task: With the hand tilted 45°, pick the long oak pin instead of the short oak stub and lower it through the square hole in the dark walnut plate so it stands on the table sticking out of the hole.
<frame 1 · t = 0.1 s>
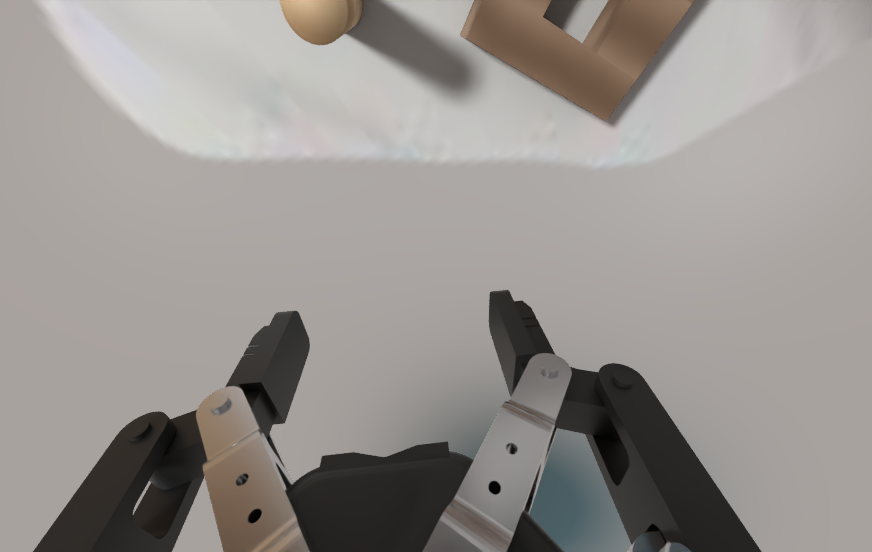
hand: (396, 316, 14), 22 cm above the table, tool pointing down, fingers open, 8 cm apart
long pin: (340, 2, 24), on the table
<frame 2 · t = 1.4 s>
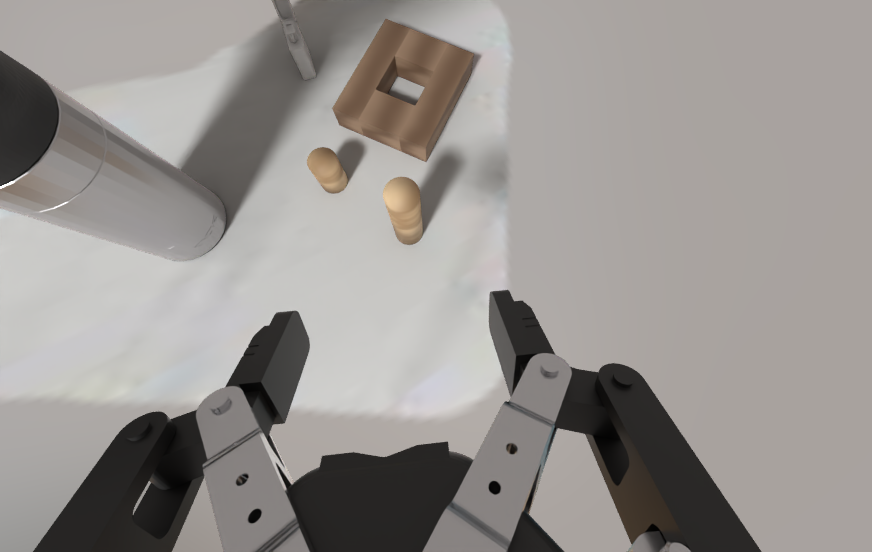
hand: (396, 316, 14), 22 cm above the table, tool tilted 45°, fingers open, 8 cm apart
lighter: (304, 58, 42), on the table
long pin: (409, 231, 38), on the table
short pin: (334, 181, 39), on the table
hole plate: (406, 98, 41), on the table
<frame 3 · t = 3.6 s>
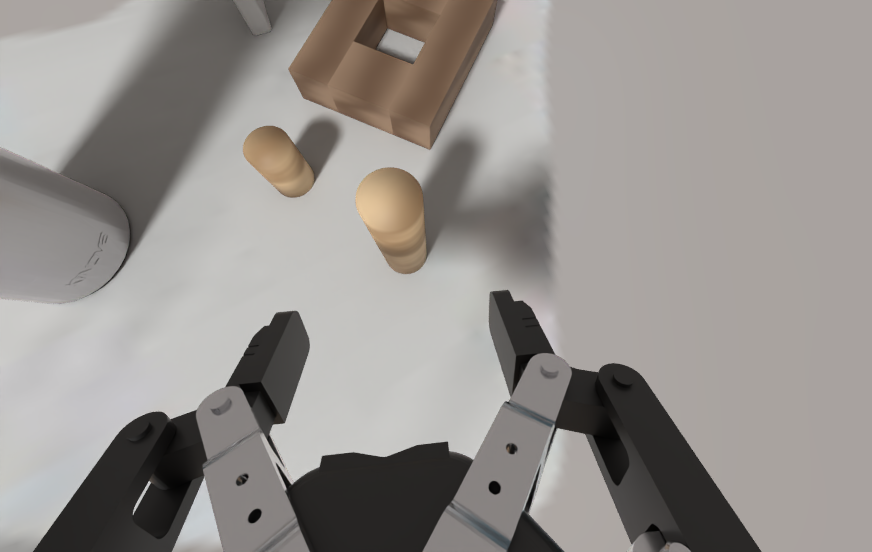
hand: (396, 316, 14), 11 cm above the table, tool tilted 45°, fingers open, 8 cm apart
lighter: (255, 5, 30), on the table
long pin: (406, 253, 25), on the table
short pin: (294, 179, 26), on the table
hole plate: (400, 60, 28), on the table
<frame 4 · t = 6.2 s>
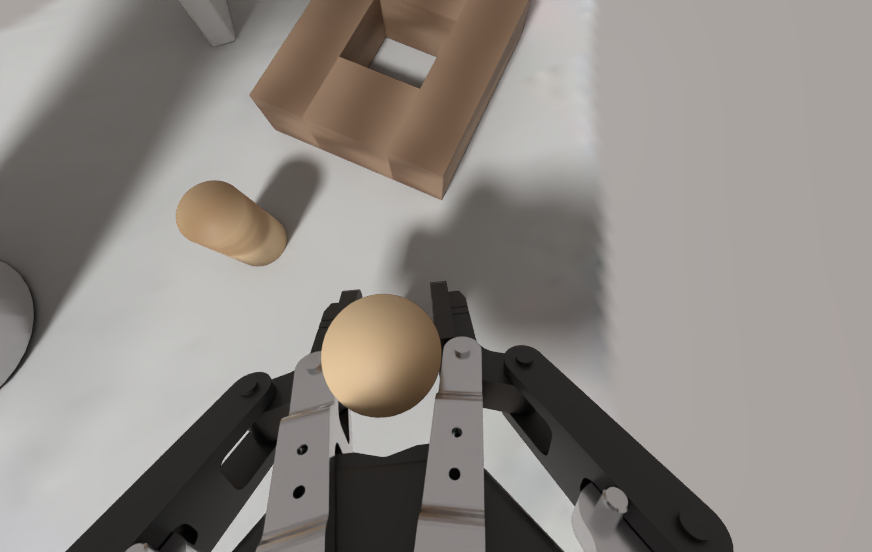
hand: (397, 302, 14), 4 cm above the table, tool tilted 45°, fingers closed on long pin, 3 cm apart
lighter: (216, 7, 23), on the table
long pin: (409, 346, 18), on the table, touching gripper
short pin: (260, 240, 20), on the table
hole plate: (403, 79, 22), on the table
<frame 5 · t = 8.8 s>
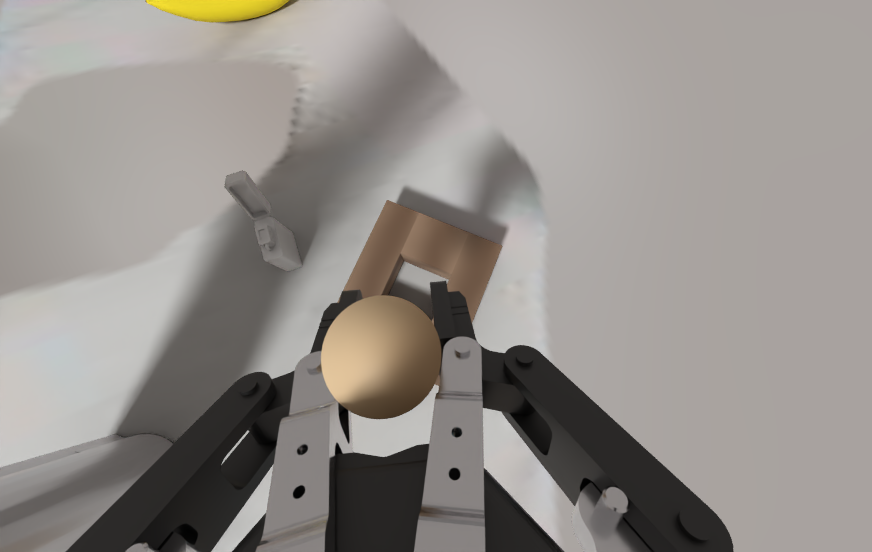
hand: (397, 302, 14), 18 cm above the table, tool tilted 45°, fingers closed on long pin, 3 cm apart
lighter: (286, 239, 34), on the table
long pin: (409, 347, 18), point 13 cm above the table, touching gripper
banana: (257, 17, 40), on the table
hole plate: (416, 293, 32), on the table
when the fingers open (7 cm above the table, at t = 11.6 s): long pin drops 2 cm, resting in hole plate.
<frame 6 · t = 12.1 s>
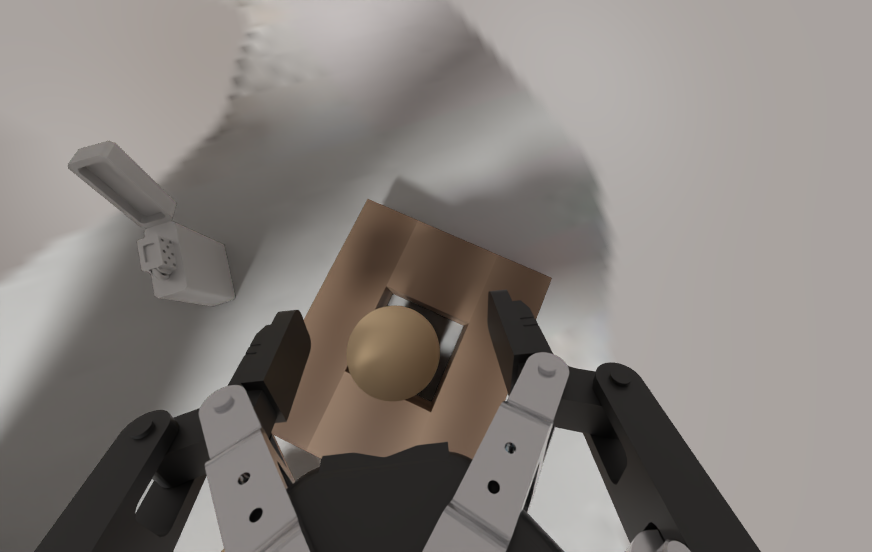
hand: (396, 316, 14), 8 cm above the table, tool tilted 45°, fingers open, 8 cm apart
lighter: (214, 254, 22), on the table
long pin: (412, 346, 21), resting in hole plate
hole plate: (411, 345, 21), on the table
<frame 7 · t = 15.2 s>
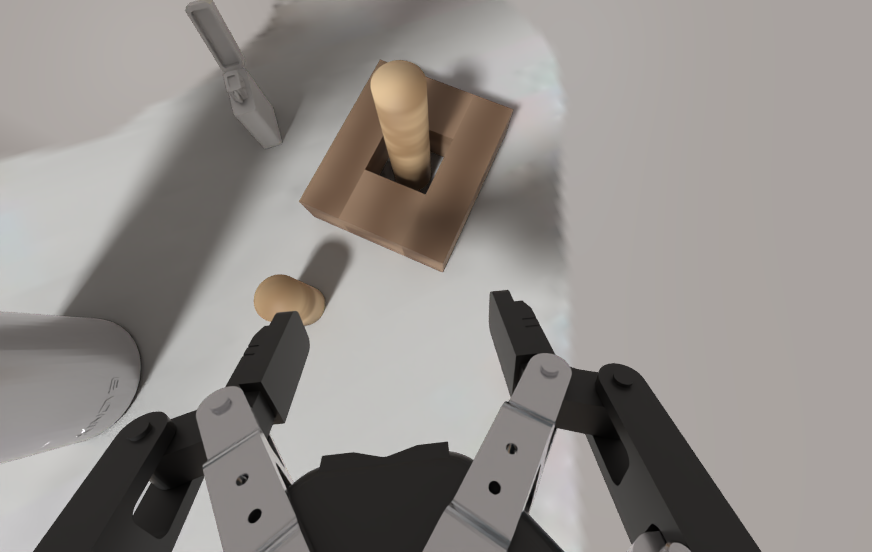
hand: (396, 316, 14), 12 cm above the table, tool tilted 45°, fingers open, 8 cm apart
lighter: (266, 115, 30), on the table
long pin: (412, 174, 28), resting in hole plate
short pin: (305, 305, 26), on the table
hole plate: (412, 173, 28), on the table
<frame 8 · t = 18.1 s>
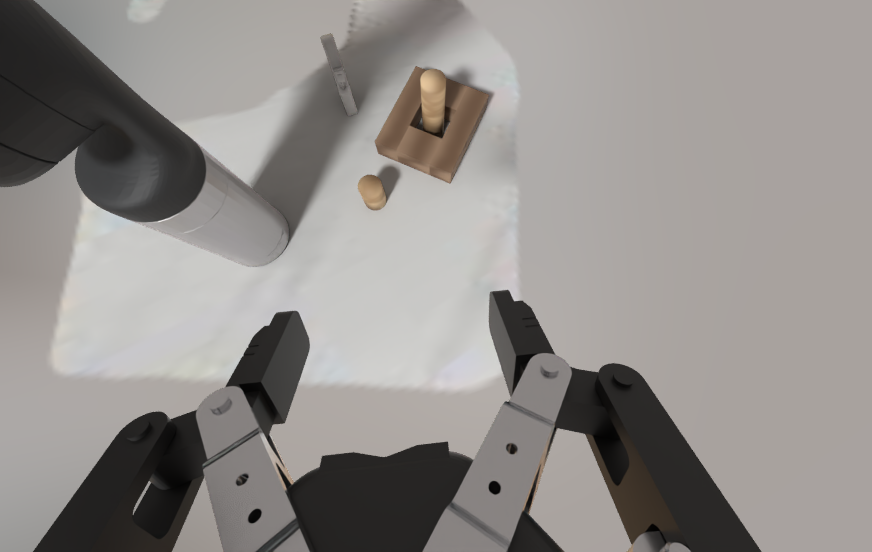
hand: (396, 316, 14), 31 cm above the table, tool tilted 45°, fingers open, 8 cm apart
lighter: (347, 97, 51), on the table
long pin: (433, 131, 50), resting in hole plate
short pin: (375, 200, 47), on the table
hole plate: (433, 130, 50), on the table
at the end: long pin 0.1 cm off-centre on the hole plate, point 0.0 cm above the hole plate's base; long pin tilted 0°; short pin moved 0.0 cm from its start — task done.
